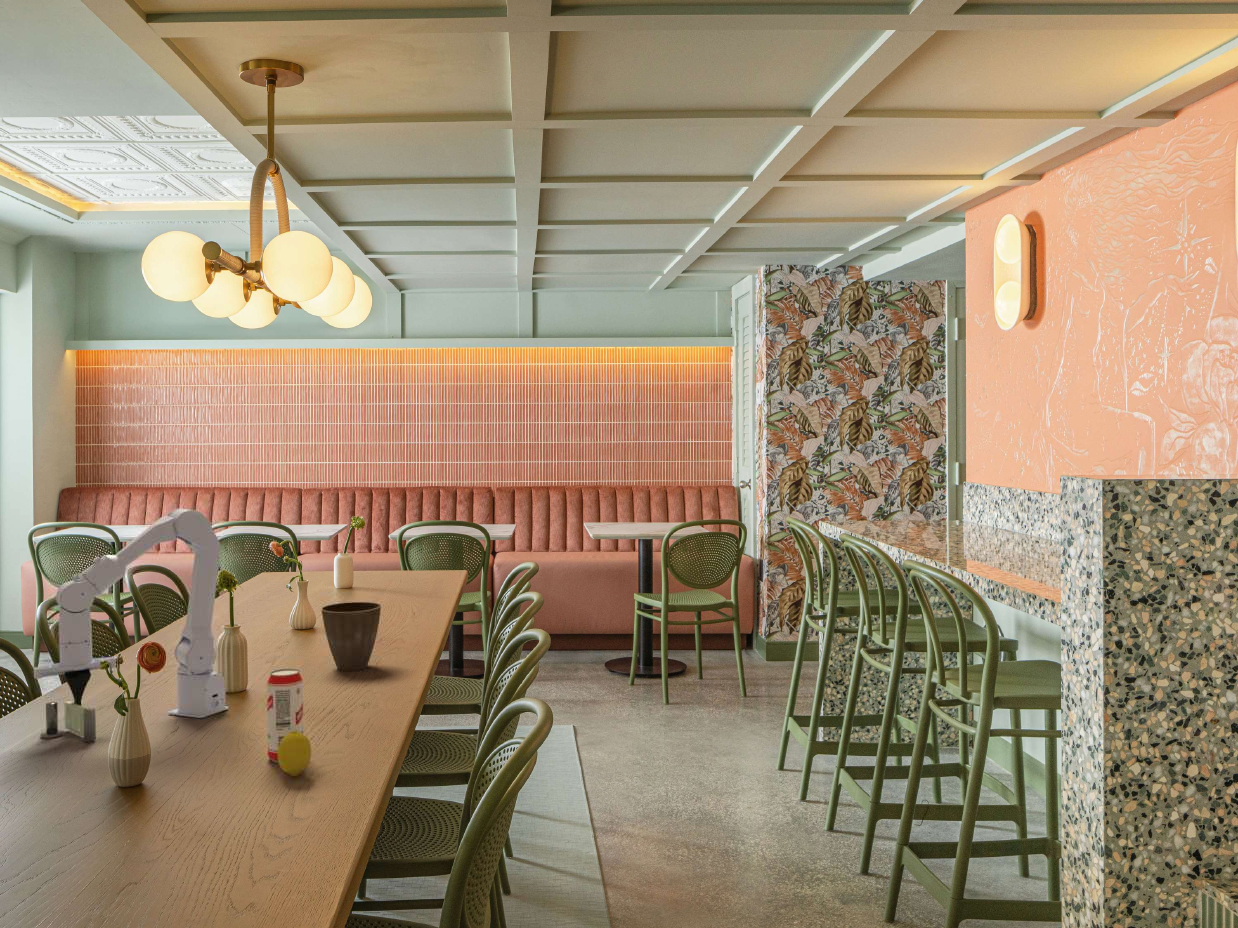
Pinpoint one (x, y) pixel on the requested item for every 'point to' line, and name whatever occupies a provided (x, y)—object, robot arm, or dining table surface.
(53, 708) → the post
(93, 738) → the gate
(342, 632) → the plant pot
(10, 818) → the dining table surface
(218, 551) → the robot arm
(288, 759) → the lemon
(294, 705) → the beer can
